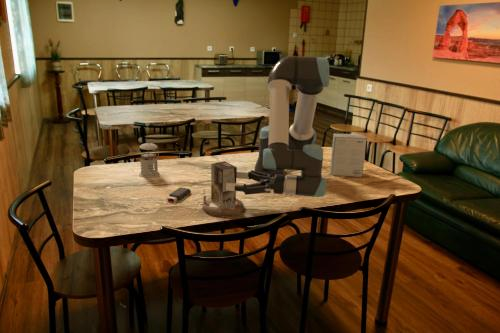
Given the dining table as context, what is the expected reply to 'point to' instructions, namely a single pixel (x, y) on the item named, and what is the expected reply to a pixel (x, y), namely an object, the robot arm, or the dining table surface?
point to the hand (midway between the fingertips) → (229, 180)
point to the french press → (149, 160)
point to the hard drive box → (348, 154)
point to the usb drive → (178, 194)
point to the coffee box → (223, 184)
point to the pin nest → (217, 211)
